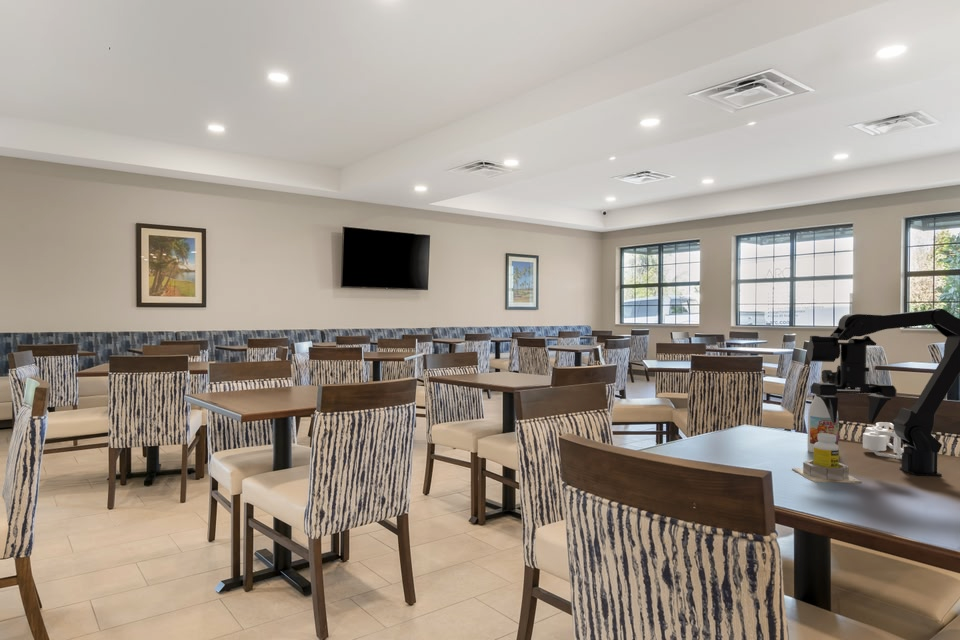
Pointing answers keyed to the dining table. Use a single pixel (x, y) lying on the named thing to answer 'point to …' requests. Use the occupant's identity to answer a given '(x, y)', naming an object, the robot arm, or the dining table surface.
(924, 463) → the robot arm
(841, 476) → the octagonal ring stand
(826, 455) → the supplement bottle
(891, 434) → the skeletal toy car
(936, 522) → the dining table surface
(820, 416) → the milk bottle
